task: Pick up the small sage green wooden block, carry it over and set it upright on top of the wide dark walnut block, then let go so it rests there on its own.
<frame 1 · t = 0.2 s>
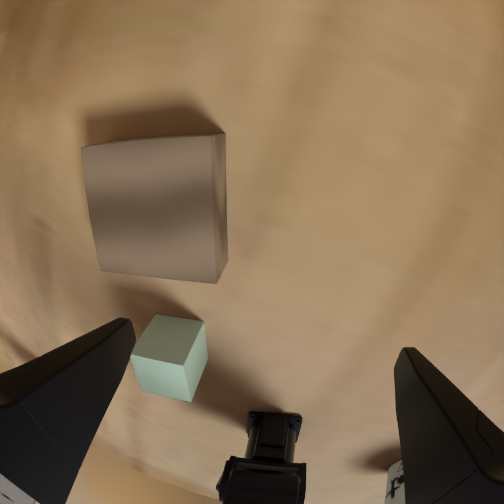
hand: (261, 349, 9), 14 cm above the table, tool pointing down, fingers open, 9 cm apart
walnut base: (166, 197, 23), on the table
green block: (182, 337, 29), on the table
white cup: (413, 465, 36), on the table
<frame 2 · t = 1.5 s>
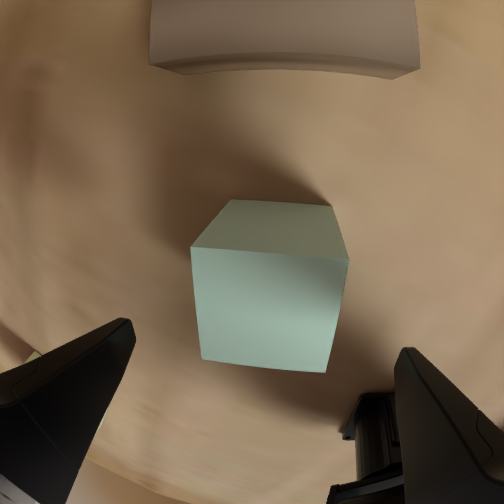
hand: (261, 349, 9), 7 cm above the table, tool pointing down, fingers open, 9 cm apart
green block: (278, 248, 16), on the table
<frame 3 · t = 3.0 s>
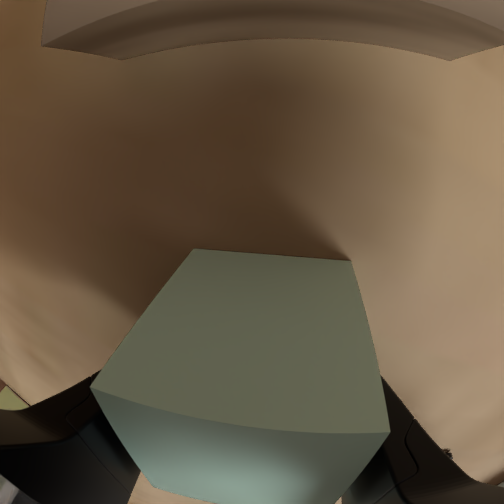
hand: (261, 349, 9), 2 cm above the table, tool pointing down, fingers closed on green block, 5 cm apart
box: (45, 423, 22), on the table
green block: (267, 319, 10), on the table, touching gripper
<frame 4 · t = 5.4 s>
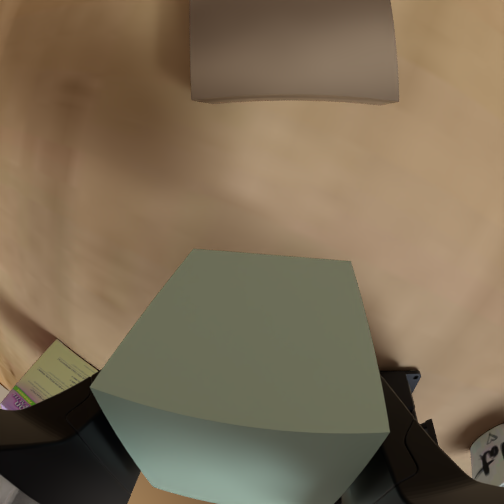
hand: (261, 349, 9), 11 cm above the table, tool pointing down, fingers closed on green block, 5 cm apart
walnut base: (293, 26, 14), on the table
box: (88, 373, 31), on the table
green block: (267, 319, 10), point 10 cm above the table, touching gripper
white cup: (493, 439, 27), on the table
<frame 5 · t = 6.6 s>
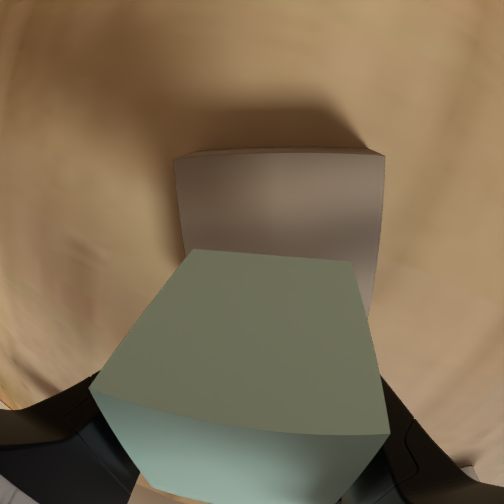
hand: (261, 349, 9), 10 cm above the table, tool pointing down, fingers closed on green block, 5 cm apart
walnut base: (284, 227, 19), on the table
green block: (267, 320, 10), point 9 cm above the table, touching gripper
white cup: (457, 476, 32), on the table
when the fingers open (7 cm above the table, at t = 7.6 s): green block drops 2 cm, resting on walnut base.
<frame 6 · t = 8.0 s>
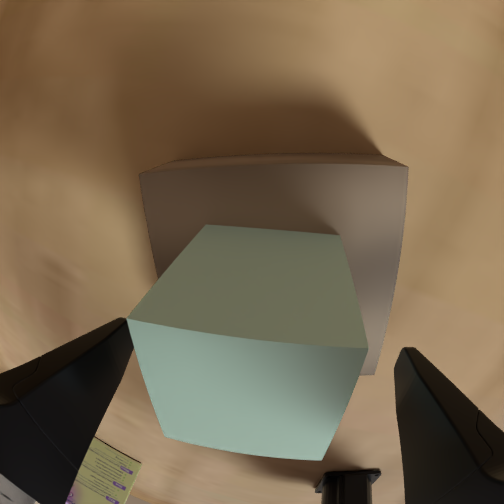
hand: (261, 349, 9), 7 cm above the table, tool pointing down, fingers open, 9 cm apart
walnut base: (280, 250, 16), on the table, touching green block
box: (107, 448, 32), on the table
green block: (268, 288, 12), point 4 cm above the table, touching walnut base
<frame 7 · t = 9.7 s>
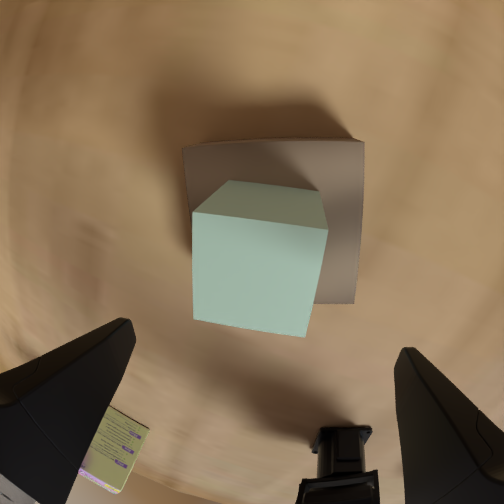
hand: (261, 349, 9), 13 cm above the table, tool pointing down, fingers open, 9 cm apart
walnut base: (279, 209, 21), on the table, touching green block
box: (117, 416, 38), on the table
green block: (269, 227, 17), point 4 cm above the table, touching walnut base
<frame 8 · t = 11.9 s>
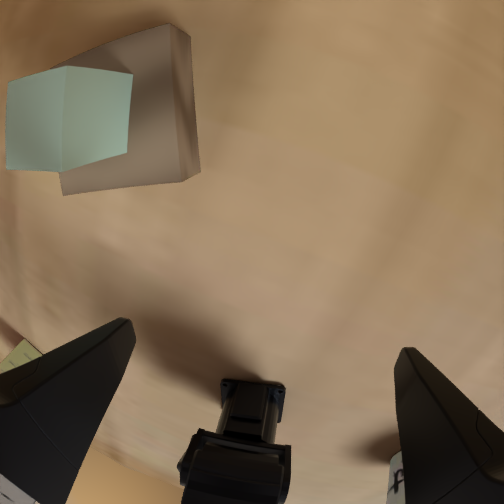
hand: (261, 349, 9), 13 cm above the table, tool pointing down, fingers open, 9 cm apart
walnut base: (134, 113, 19), on the table, touching green block
box: (48, 366, 36), on the table
green block: (98, 114, 16), point 4 cm above the table, touching walnut base
white cup: (419, 456, 32), on the table
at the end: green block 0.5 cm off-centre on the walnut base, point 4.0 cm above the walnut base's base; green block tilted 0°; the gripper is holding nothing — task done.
